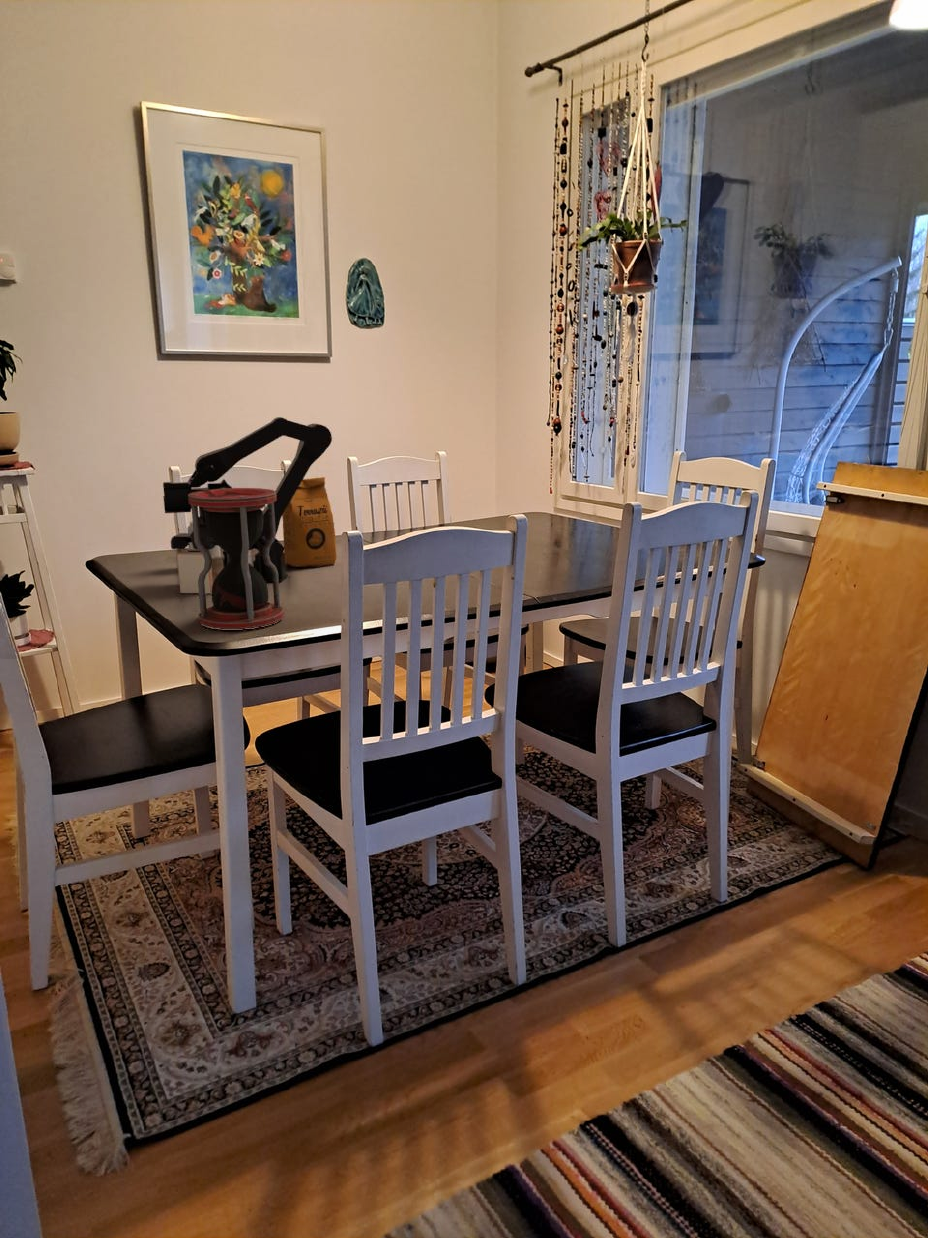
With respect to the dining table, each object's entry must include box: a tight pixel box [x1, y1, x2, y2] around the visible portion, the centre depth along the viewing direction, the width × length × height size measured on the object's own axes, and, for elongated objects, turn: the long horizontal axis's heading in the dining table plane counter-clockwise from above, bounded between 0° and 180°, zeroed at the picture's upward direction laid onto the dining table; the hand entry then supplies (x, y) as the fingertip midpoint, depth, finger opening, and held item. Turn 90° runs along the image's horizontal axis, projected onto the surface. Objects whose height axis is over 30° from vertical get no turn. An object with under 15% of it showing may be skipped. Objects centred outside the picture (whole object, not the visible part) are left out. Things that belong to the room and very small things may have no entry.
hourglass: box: [188, 487, 285, 629], centre depth 164 cm, size 16×16×25 cm
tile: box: [176, 551, 213, 593], centre depth 188 cm, size 7×2×9 cm, turn 85°
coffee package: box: [281, 476, 337, 568], centre depth 214 cm, size 10×12×22 cm
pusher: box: [211, 556, 225, 582], centre depth 197 cm, size 4×4×6 cm
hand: (217, 578), depth 197 cm, fingers closed on pusher, 4 cm apart
